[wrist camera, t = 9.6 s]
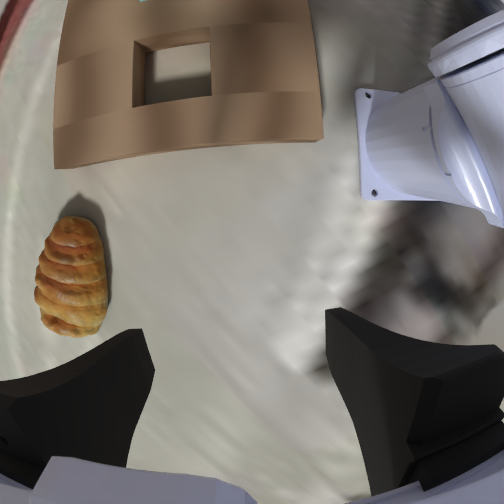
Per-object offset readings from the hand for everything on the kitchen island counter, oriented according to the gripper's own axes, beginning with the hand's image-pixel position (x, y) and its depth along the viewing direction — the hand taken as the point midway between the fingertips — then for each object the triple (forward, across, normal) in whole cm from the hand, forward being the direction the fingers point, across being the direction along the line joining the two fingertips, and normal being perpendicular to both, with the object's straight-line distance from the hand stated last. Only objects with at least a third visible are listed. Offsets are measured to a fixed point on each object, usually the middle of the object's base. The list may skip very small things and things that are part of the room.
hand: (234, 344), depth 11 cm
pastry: (+11, +14, 0) cm, 18 cm away
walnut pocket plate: (+10, +2, -18) cm, 21 cm away
